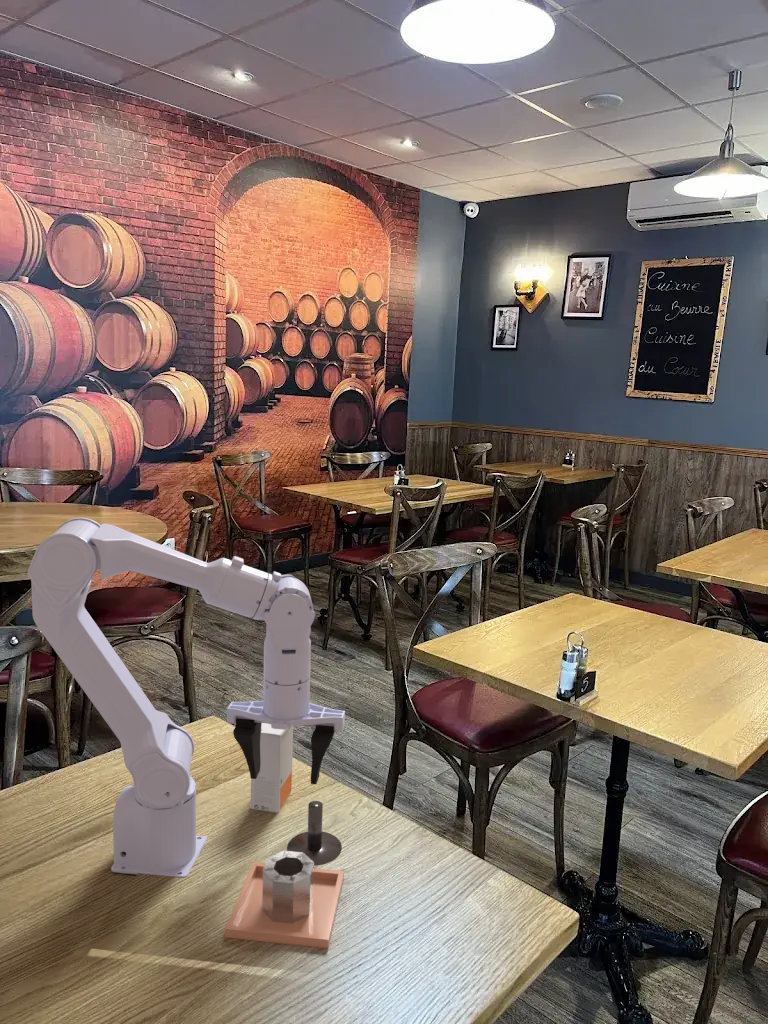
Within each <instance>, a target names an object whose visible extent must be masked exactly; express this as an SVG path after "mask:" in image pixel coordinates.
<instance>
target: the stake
mask: <svg viewBox="0 0 768 1024" xmlns="http://www.w3.org/2000/svg"><path fill="white" fill-rule="evenodd" d="M307 806H308V807H307V810H308V811H307V812H308V813H307V817H308V818H307V831H304V832H301V833H298V834H297V835H295V836H293V837H292V838H291V839H290V840H289V842H288V843H287V846H286V851H294V852H303V853H304V854H306V855H307V856H308V857H309V858H310V859H311V860H312V861H313V862H314V866H322V865H325V864H328V863H330V862H334V860H336V859H337V858H338V857H339V856H340V855H341V853H342V849H343V846H342V843H341V840H339V838H338V837H336V835H333V834H332V833H329V832H327V831H323V807H324V806H323V803H322V802H321V801H320V800H312V801H310V802H309V803H308V805H307Z"/></svg>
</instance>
